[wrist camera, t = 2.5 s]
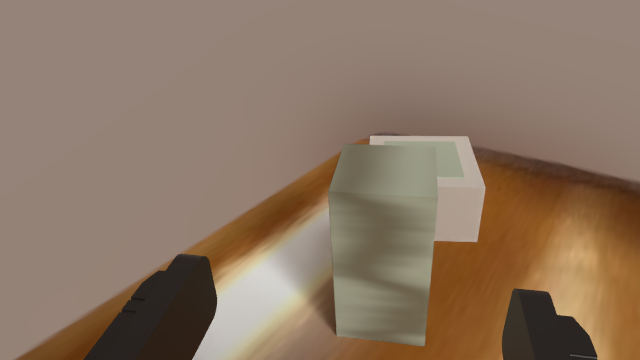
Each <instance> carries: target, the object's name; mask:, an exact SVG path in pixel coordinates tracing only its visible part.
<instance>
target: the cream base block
mask: <svg viewBox="0 0 640 360" xmlns="http://www.w3.org/2000/svg"><path fill="white" fill-rule="evenodd" d="M370 145H391V146H420V147H436V166H437V186H438V204H437V215H436V226H435V237H434V241H458V242H477V239H478V233H479V227H480V220H481V214H482V207H483V201H484V195H485V188H486V187H485V184H484V182H483V179H482V176H481V173H480V170H479V167H478V164H477V162H476V159H475V156H474V153H473V150H472V147H471V144H470V141H469V139H468V136H370Z"/></svg>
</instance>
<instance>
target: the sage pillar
mask: <svg viewBox="0 0 640 360" xmlns="http://www.w3.org/2000/svg"><path fill="white" fill-rule="evenodd" d="M328 196H329V213H330V230H331V247H332V264H333V281H334V298H335V315H336V332H337V336H342V337H351V338H359V339H367V340H376V341H384V342H392V343H401V344H409V345H417V346H425V335H426V324H427V313H428V302H429V291H430V280H431V269H432V258H433V247H434V237H435V226H436V215H437V204H438V186H437V166H436V147H420V146H391V145H362V144H344V146H343V149H342V152H341V155H340V158H339V161H338V164H337V167H336V170H335V173H334V176H333V179H332V182H331V185H330V188H329V191H328Z"/></svg>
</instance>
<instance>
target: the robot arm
mask: <svg viewBox="0 0 640 360" xmlns="http://www.w3.org/2000/svg"><path fill="white" fill-rule="evenodd" d="M216 307H217V295H216V290H215V286H214V281H213V276H212V272H211V267H210V263H209V260H208V258H207V257H205V256H197V255H187V254H179V255H177V256H176V257H175V259H174V260H173V261H172V263H171V264H170V266H169V267H168V268H167V270H166V271H158V272H156V273H155V274H154V275H152V276H151V277H149V278H148V279H147V280H145V281H144V282H143V283H142V284H141V285H140V286H139V288H138V289H137V290H136V292H135V293H134V294H133V296H132V297H131V300H129V301H128V302H127V303H126V305H125V306H124V307H123V309H122V312H121V313H119V314H118V315H117V317H116V318H115V319H114V320H113V322H112V323H111V324H110V326H109V327H108V328H107V330H106V331H105V332H104V334H103V335H102V336H101V337H100V339H99V340H98V341H97V343H96V344H95V345H94V347H93V348H92V349H91V351H90V352H89V353H88V355H87V356H86V357H85V358H84V359H83V360H192V359H193V357H194V355H195V353H196V351H197V349H198V347H199V345H200V343H201V341H202V340H203V338H204V336H205V334H206V332H207V330H208V328H209V326H210V324H211V322H212V320H213V318H214V316H215V312H216ZM502 353H503V360H597V354H596V351H595V349H594V346H593V344H592V341H591V339H590V336H589V335H588V334H587V332H586V331H585V330H584V329H583V328H582V327H581V326H580V325H579V323H578V322H577V321H576V320H575V319H574V318H573V317H570V316H561V315H557V314H556V311H555V308H554V305H553V302H552V299H551V296H550V294H549V293H548V292H545V291H535V290H525V289H514V290H513V292H512V295H511V300H510V304H509V308H508V313H507V317H506V321H505V326H504V330H503V337H502Z"/></svg>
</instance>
